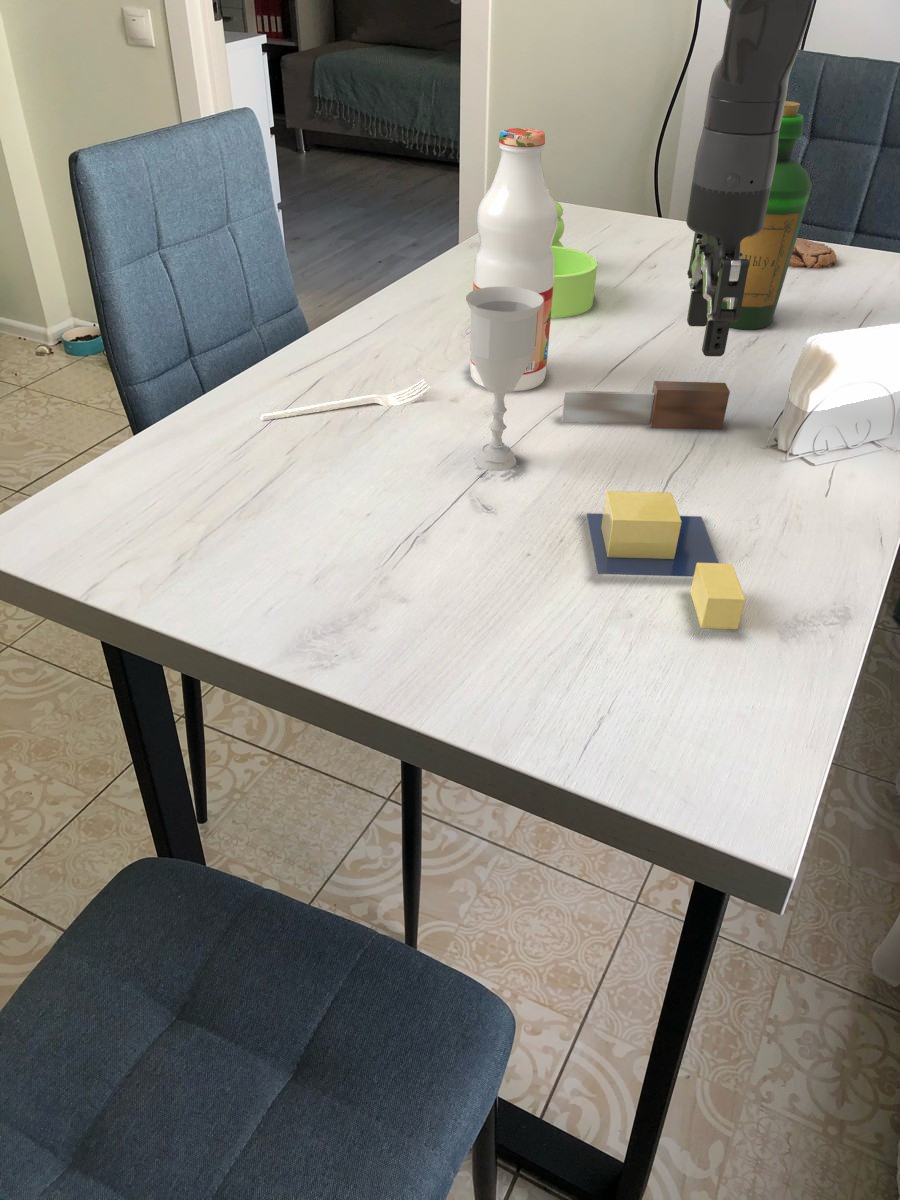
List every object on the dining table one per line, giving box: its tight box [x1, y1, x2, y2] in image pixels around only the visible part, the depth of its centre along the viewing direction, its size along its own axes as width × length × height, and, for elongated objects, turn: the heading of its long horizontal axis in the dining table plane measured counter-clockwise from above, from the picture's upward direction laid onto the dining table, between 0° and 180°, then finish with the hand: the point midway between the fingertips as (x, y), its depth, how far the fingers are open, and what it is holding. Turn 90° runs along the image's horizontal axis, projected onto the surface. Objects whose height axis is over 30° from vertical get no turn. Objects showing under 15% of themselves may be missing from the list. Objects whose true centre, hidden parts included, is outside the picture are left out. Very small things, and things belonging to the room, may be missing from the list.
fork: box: [260, 379, 431, 422], centre depth 108 cm, size 3×20×2 cm, turn 112°
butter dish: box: [586, 490, 719, 578], centre depth 85 cm, size 11×10×5 cm
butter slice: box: [689, 562, 746, 630], centre depth 77 cm, size 3×5×4 cm, turn 179°
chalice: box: [465, 287, 544, 472], centre depth 93 cm, size 7×7×18 cm
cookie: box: [788, 237, 837, 270], centre depth 156 cm, size 10×11×3 cm
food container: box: [547, 188, 598, 319], centre depth 139 cm, size 25×15×13 cm, turn 1°
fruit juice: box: [469, 127, 558, 392], centre depth 108 cm, size 9×9×28 cm
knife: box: [561, 380, 731, 431], centre depth 106 cm, size 18×2×5 cm, turn 89°
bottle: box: [721, 100, 813, 331], centre depth 126 cm, size 11×11×28 cm
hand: (704, 339), depth 101 cm, fingers open, 8 cm apart
